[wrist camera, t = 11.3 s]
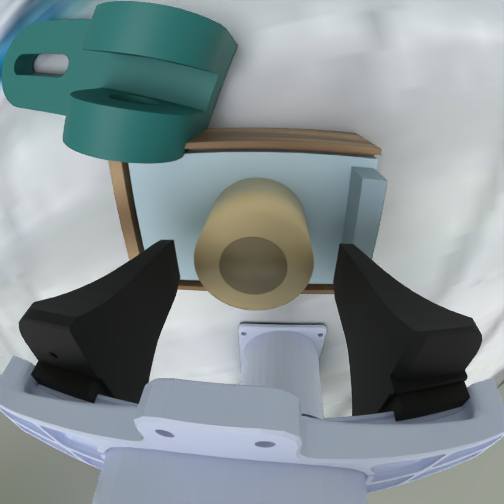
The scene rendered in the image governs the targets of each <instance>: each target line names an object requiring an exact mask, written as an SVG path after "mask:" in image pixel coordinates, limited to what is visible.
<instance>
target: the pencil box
mask: <svg viewBox="0 0 504 504" xmlns="http://www.w3.org/2000/svg"><path fill="white" fill-rule="evenodd" d="M184 149H188V151H194V150H221V149H279V150H305V151H323V152H337V153H349V154H359V155H369V156H374V154H377V155H381V149H380V148H379V147H377V146H376V145H374V144H372V143H371V142H369V141H368V140H366V139H364V138H363V137H361V136H359V135H357V134H356V133H347V132H337V131H324V130H309V129H288V128H220V129H206V130H205V131H203V132H202V133H200V134H199V135H197V136H196V137H194V138H193V139H191V140H190V141H188V142H187V143H186V145H185V148H184ZM109 167H110V173H111V178H112V184H113V189H114V195H115V200H116V205H117V209H118V214H119V219H120V223H121V227H122V232H123V236H124V240H125V244H126V248H127V252H128V256H129V259H130V260H131V259H133V258H134V257H136V256H137V255H138V254H140V253H141V252H143V251H144V246H143V241H142V236H141V232H140V227H139V222H138V217H137V212H136V206H135V201H134V195H133V189H132V183H131V177H130V170H129V164H128V163H126V162H118V161H111V160H109ZM178 289H181V290H200V291H207V290H206V288H205V287H204V286H203V285H202V283H201V282H200V280H180V281H179V285H178ZM300 294H334V286H333V284H308V285H307V286H306V288H305V289H304V290H303V291H302V292H301V293H300Z"/></svg>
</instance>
